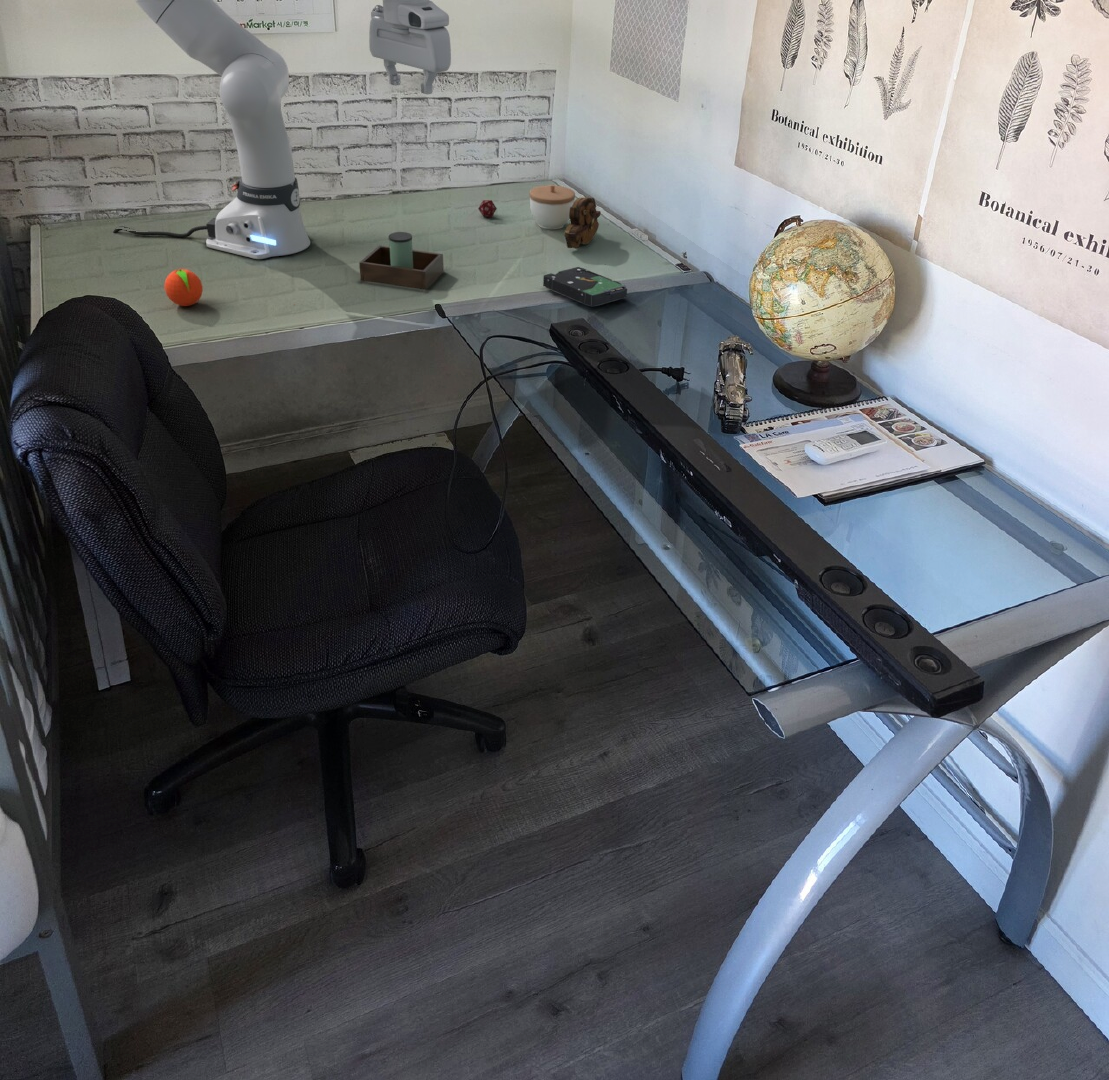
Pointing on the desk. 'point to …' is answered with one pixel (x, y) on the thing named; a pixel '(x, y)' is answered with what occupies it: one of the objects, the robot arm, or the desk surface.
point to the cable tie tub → (401, 249)
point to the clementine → (183, 287)
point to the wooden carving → (582, 222)
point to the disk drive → (585, 286)
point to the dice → (487, 208)
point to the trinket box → (551, 205)
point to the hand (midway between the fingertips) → (410, 89)
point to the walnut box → (401, 269)
